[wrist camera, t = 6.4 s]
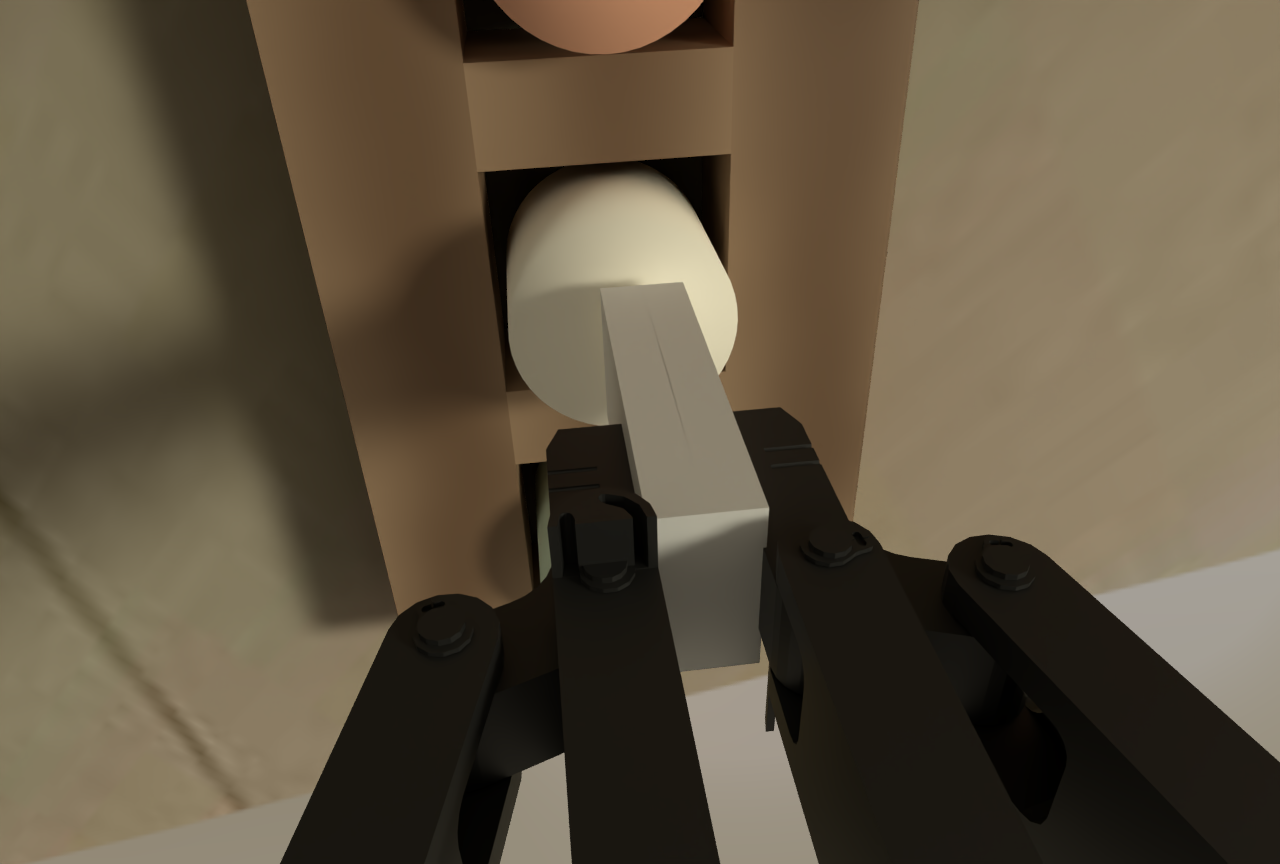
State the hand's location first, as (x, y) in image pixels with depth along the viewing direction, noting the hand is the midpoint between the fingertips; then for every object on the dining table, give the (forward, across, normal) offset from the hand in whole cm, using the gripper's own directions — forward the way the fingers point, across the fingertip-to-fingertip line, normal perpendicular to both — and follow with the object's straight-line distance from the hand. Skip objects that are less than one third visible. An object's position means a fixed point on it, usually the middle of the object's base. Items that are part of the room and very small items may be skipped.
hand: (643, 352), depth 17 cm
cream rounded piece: (+4, 0, 0) cm, 4 cm away
